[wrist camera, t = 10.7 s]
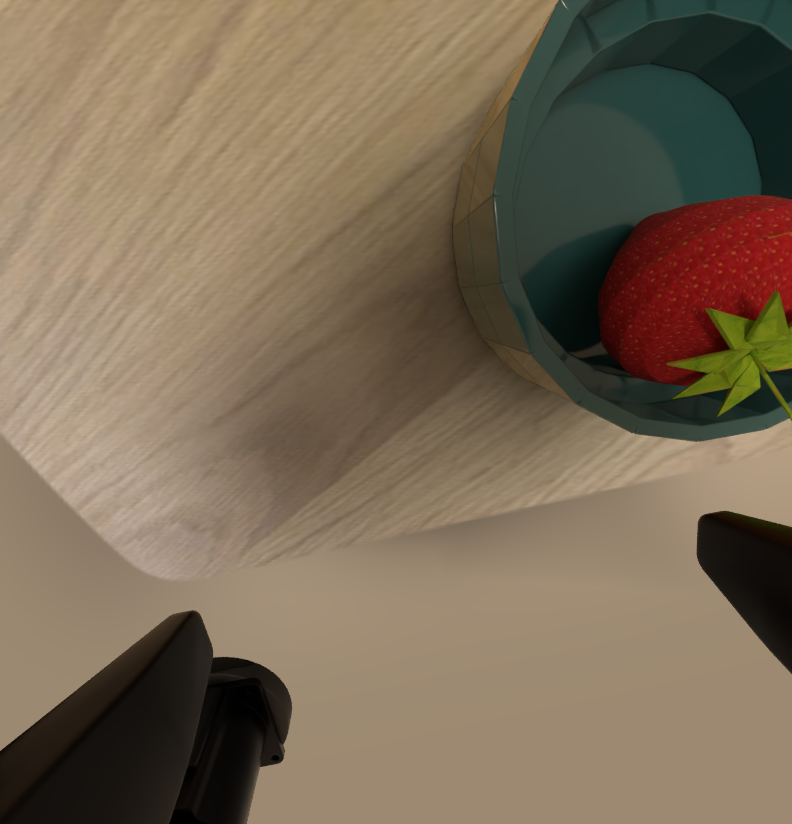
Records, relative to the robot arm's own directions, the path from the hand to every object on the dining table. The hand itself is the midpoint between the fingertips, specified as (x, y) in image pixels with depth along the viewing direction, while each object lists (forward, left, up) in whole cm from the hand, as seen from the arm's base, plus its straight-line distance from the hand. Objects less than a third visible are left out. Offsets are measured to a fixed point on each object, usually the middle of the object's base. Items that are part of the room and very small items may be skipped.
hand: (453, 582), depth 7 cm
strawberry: (+6, -12, -12) cm, 18 cm away
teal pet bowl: (+6, -11, -13) cm, 18 cm away
